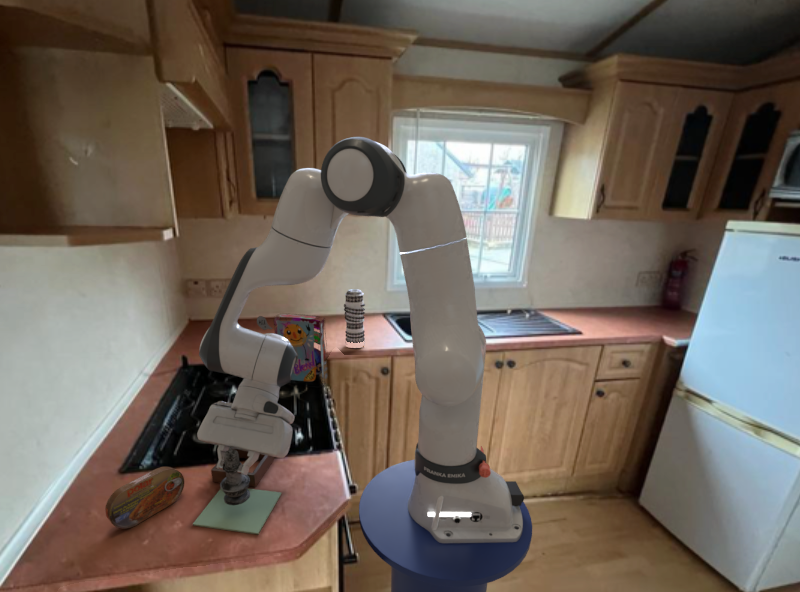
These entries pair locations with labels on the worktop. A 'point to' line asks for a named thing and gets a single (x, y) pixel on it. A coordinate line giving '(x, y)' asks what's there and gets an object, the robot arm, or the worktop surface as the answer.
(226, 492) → the grey chess piece
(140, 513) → the tin
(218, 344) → the robot arm
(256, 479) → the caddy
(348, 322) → the decorative candle
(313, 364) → the box
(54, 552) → the worktop surface
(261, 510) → the mat
